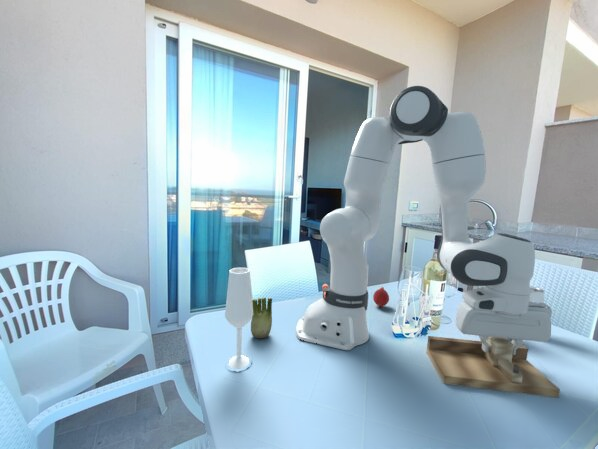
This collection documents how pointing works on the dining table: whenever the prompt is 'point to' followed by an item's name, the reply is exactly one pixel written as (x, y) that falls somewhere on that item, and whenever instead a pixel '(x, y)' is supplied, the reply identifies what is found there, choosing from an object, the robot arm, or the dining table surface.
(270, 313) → the fennel bulb
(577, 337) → the dining table surface
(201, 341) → the dining table surface
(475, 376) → the board
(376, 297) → the onion
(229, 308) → the champagne flute
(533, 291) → the beer glass
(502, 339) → the marking gauge
